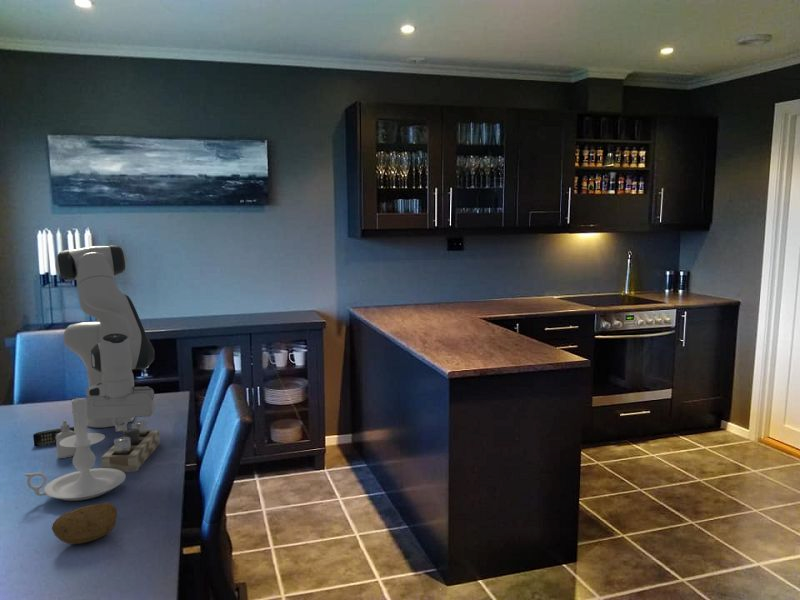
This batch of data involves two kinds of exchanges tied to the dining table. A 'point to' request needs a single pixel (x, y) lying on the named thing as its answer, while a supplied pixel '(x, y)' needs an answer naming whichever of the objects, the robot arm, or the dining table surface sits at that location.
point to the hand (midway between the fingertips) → (121, 430)
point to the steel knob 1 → (122, 446)
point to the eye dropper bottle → (66, 432)
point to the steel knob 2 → (140, 427)
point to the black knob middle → (132, 436)
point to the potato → (85, 523)
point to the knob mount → (132, 454)
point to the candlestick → (80, 464)
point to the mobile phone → (47, 437)
